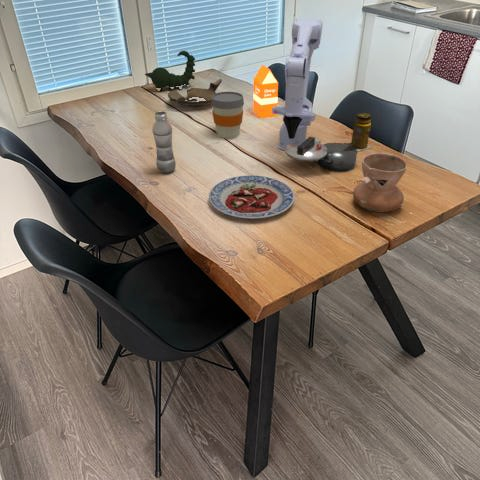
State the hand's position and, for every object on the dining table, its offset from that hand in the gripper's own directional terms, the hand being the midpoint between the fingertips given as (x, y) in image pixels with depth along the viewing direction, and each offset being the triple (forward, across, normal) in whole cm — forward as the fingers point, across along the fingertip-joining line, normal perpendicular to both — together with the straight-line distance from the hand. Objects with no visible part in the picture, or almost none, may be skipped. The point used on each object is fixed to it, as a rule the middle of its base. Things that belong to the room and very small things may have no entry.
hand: (291, 137), depth 152 cm
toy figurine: (+10, -88, +49) cm, 102 cm away
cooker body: (+10, +12, +10) cm, 18 cm away
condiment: (+10, +15, +27) cm, 33 cm away
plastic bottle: (+10, -35, -24) cm, 44 cm away
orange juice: (+10, -31, +40) cm, 52 cm away
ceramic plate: (+11, 0, -28) cm, 30 cm away
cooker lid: (+5, +5, +3) cm, 7 cm away
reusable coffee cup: (+10, -33, +14) cm, 37 cm away
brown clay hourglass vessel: (+11, +34, -11) cm, 37 cm away
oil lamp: (+10, -64, +38) cm, 76 cm away
